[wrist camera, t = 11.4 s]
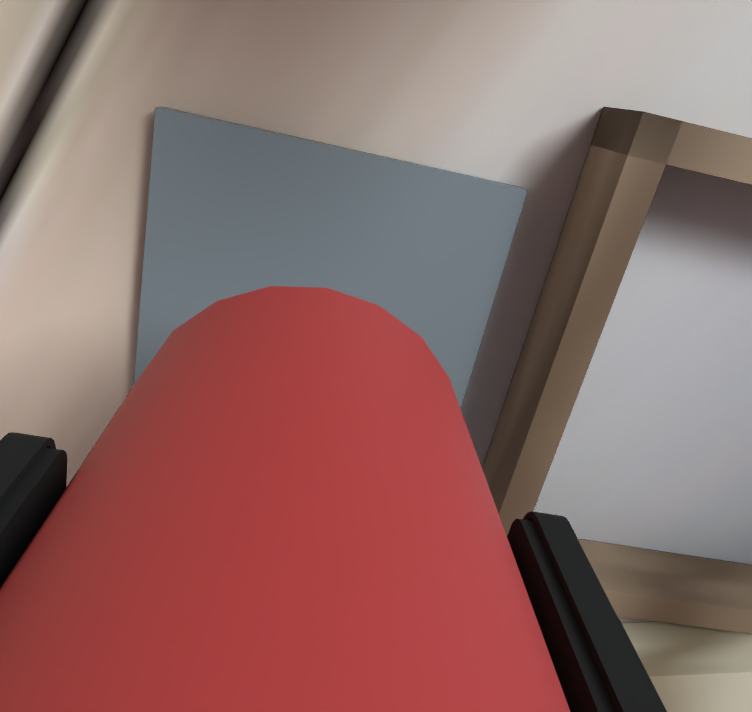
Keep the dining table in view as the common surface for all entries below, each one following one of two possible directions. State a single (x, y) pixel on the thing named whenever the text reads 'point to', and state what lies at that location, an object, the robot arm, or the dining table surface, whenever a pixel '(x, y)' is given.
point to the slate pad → (319, 233)
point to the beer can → (277, 535)
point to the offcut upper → (695, 666)
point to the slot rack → (577, 345)
